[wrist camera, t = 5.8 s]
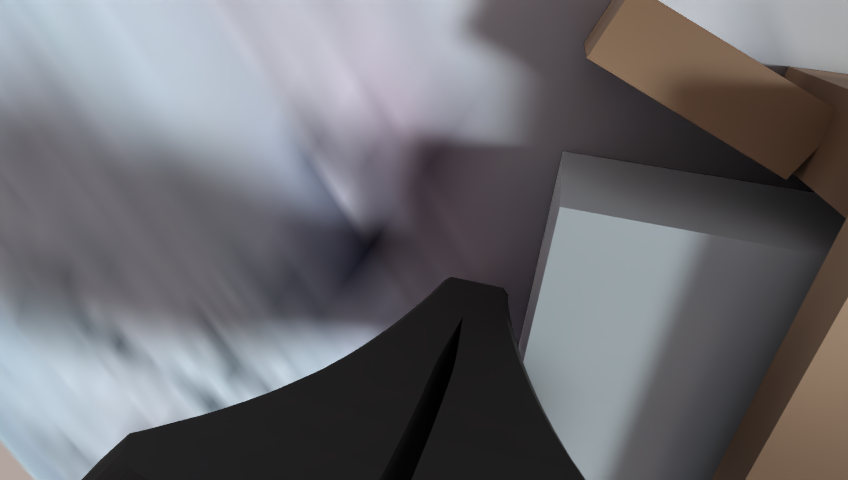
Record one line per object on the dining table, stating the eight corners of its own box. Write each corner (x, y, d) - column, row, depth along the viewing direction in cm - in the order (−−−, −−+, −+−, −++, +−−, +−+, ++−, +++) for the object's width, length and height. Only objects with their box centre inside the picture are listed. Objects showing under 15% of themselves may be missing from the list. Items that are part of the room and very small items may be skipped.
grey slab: (966, 546, 11) (1076, 702, 9) (500, 425, 13) (484, 527, 11) (1227, 261, 8) (1514, 382, 6) (562, 150, 10) (560, 206, 7)
